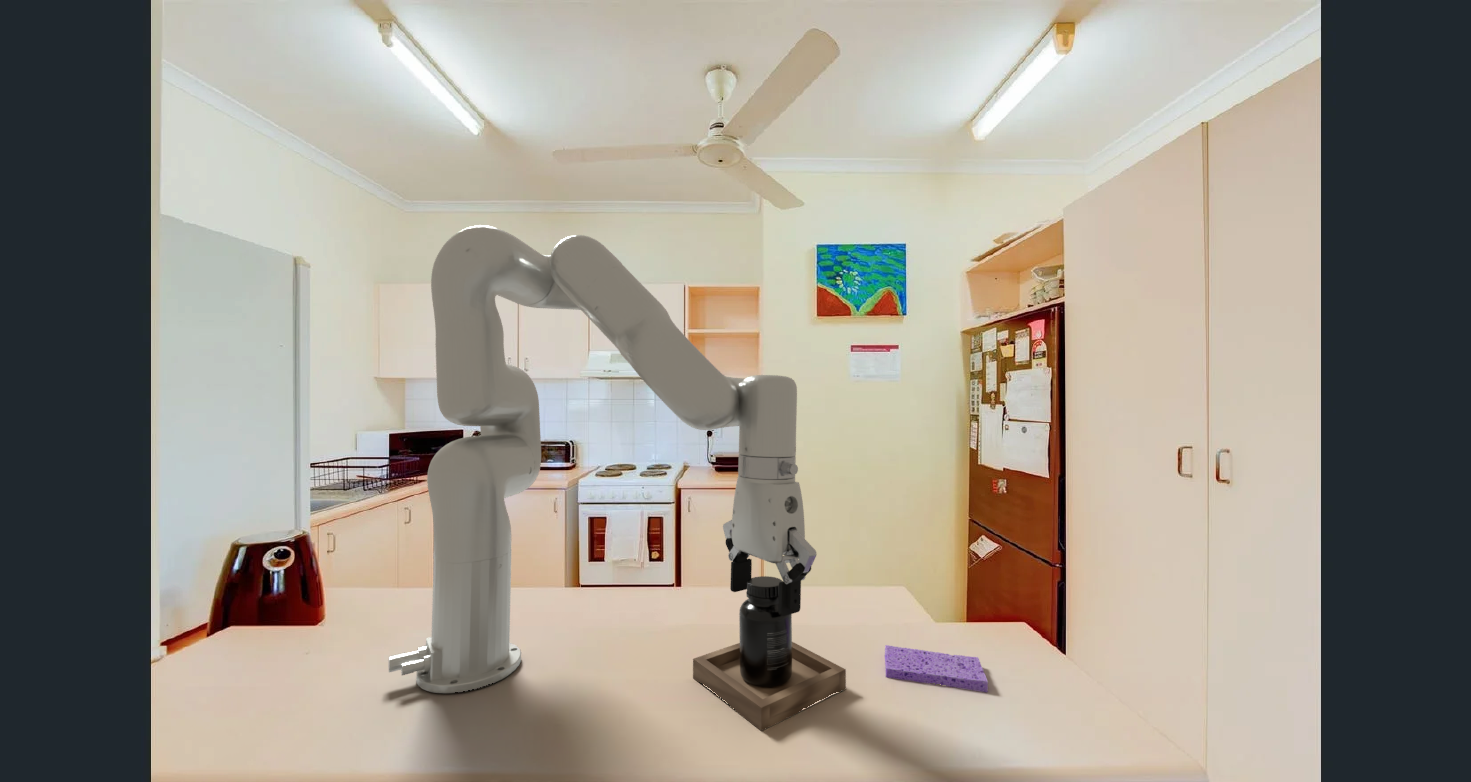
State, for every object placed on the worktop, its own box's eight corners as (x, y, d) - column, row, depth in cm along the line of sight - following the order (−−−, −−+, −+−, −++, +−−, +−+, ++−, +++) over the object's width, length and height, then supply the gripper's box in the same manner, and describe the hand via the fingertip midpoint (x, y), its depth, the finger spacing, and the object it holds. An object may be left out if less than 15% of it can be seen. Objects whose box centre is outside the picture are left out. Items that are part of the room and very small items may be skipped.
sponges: (988, 697, 64) (988, 681, 64) (884, 680, 68) (884, 666, 68) (979, 670, 71) (978, 656, 71) (884, 656, 74) (884, 643, 74)
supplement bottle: (792, 664, 69) (792, 574, 69) (791, 691, 62) (792, 591, 63) (741, 660, 70) (742, 572, 70) (736, 687, 63) (736, 589, 63)
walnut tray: (761, 731, 56) (761, 707, 56) (692, 678, 67) (693, 658, 67) (845, 689, 64) (845, 669, 65) (772, 648, 76) (772, 631, 76)
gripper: (836, 475, 62) (833, 617, 62) (748, 461, 76) (745, 577, 75) (791, 478, 58) (788, 631, 57) (706, 464, 72) (703, 587, 71)
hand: (763, 601), depth 66 cm, fingers open, 9 cm apart
